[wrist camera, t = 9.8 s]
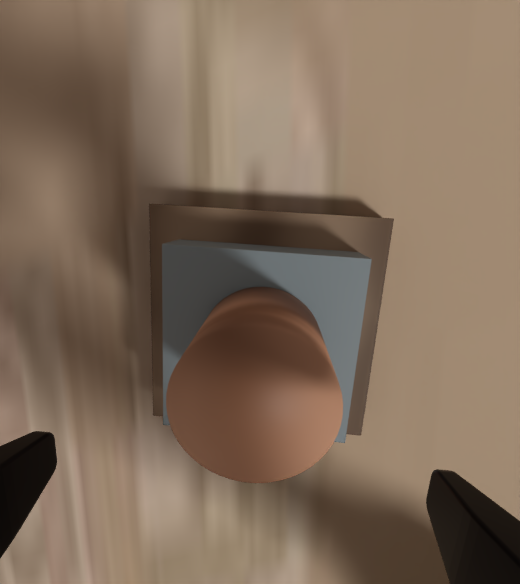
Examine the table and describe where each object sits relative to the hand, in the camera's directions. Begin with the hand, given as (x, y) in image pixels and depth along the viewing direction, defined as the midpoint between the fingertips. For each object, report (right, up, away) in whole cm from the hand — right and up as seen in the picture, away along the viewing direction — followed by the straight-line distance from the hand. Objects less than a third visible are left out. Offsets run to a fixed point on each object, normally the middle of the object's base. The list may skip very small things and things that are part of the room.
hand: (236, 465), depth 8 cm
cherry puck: (+1, +2, +7) cm, 8 cm away
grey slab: (+1, +2, +10) cm, 10 cm away
